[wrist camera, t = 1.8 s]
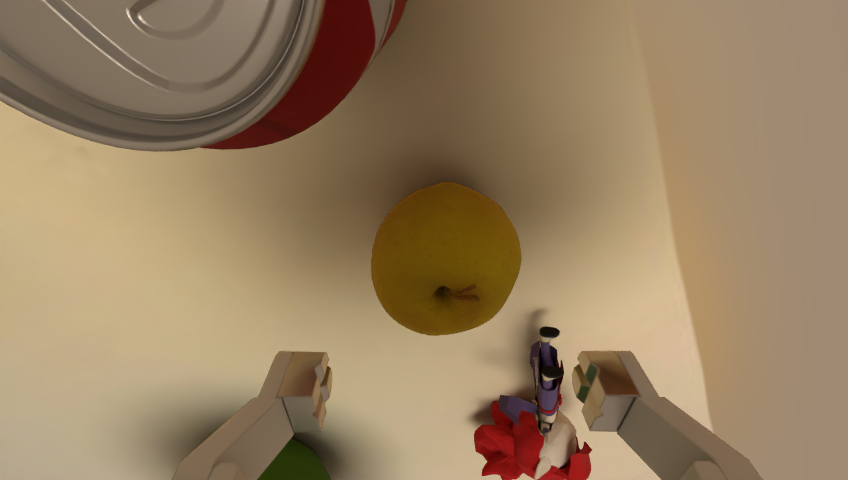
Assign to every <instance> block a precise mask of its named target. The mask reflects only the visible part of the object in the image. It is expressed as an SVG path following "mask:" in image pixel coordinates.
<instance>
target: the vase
mask: <svg viewBox="0 0 848 480" xmlns="http://www.w3.org/2000/svg"><path fill="white" fill-rule="evenodd" d="M257 480H331V479H330V476H329V474H328V473H327V471H326V469H325V467H324V465H323V463H322V462H321V460H320V458H319V457H318V455H317V454H316V453H315V452H314V451H313V450H312V449H310V448H308V447H307V446H305V445H304V444H302V443H300V442H298V441H295V440H293V439H290V440H289V441H288V442H287V444H286V445H285V446H284V447H283V449H282V450H281V451H280V452H279V453H278V455H277V456H276V457H275V458H274V460H273V461H272V462H271V463H270V464H269V466H268V467H267V468H266V469H265V471H264V472H263V473H262V474H261V475H260V477H259V478H258V479H257Z"/></svg>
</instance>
